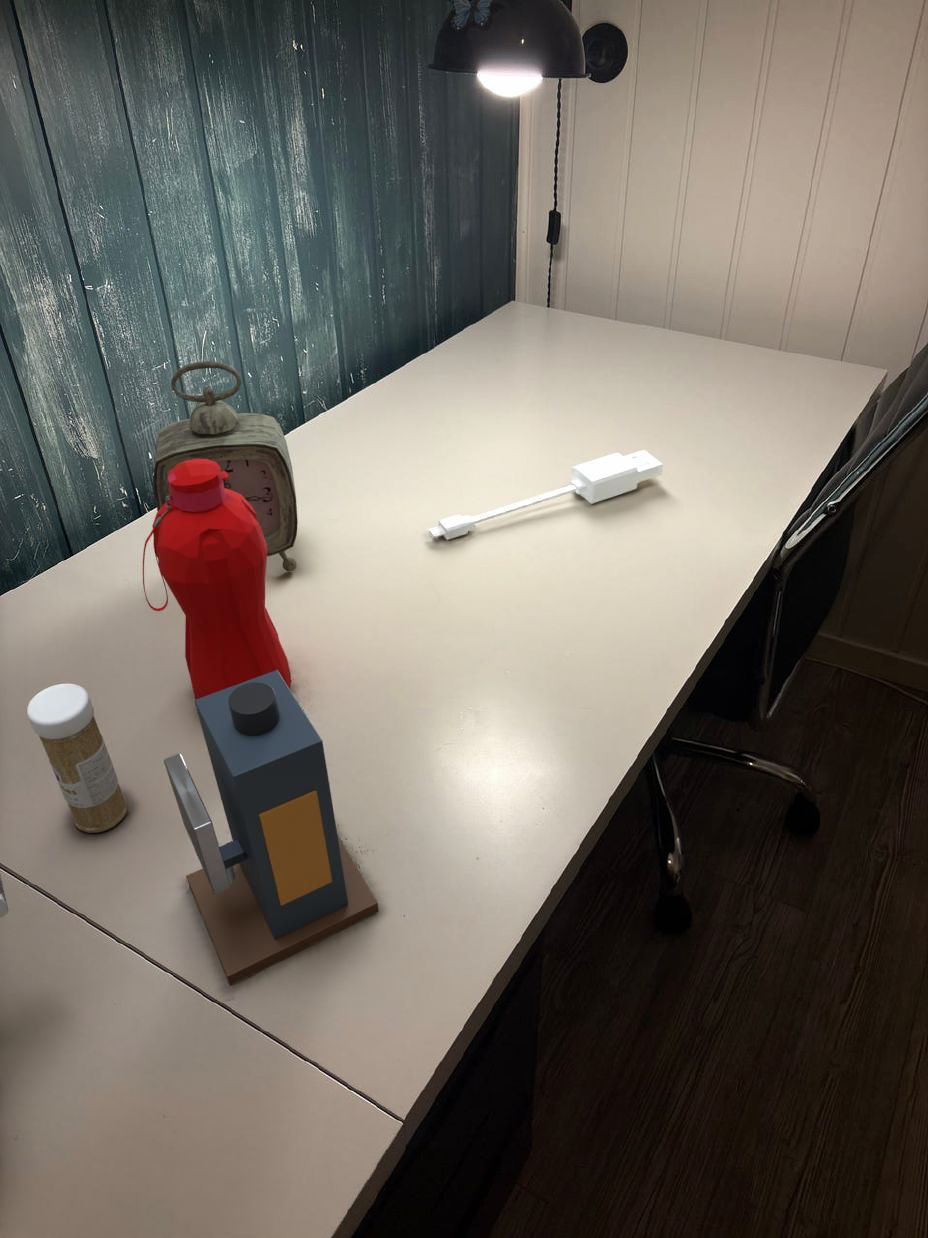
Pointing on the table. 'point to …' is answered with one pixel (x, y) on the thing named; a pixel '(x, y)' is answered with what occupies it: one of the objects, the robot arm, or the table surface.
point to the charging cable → (573, 488)
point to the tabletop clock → (234, 458)
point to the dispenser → (273, 832)
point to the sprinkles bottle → (78, 756)
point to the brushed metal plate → (197, 823)
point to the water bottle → (216, 579)
